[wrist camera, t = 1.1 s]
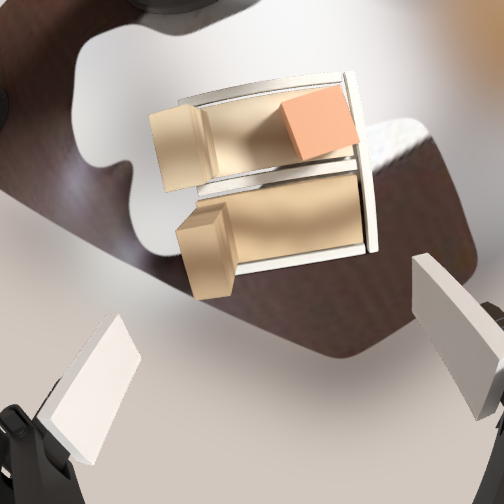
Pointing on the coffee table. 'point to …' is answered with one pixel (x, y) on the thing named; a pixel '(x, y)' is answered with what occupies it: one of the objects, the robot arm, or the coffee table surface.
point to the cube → (319, 122)
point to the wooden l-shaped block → (266, 228)
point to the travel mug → (3, 108)
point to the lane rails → (303, 167)
